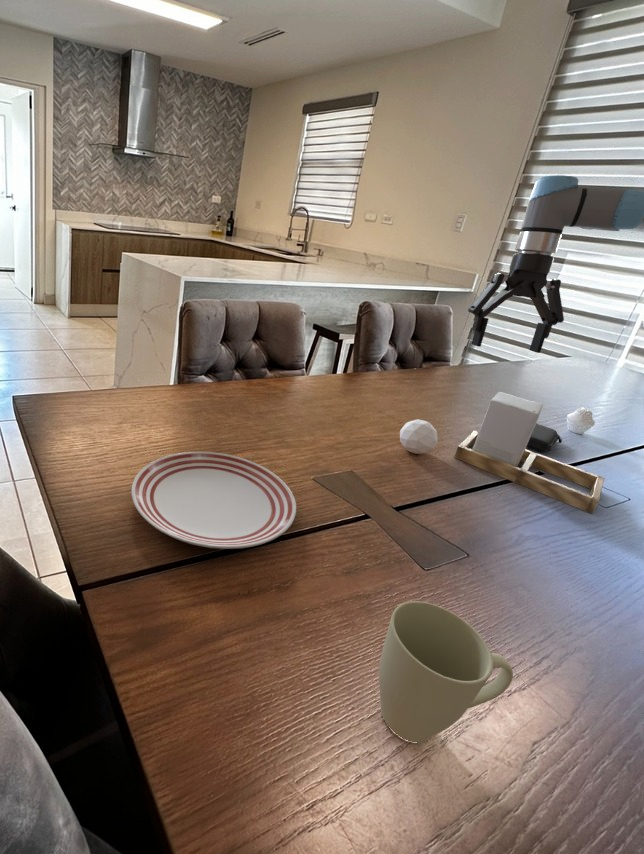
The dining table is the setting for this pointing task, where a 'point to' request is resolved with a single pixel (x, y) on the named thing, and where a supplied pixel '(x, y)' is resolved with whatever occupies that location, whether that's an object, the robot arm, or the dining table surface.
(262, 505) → the dinner plate
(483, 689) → the mug
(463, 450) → the rack
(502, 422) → the rectangular carton
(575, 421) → the muffin
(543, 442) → the carrying case
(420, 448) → the geometric ball
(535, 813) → the dining table surface
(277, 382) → the dining table surface
